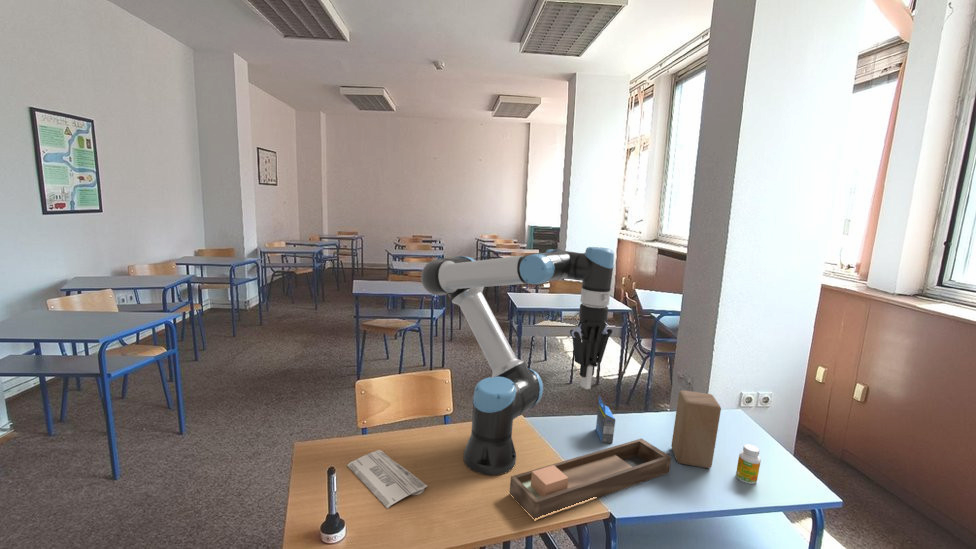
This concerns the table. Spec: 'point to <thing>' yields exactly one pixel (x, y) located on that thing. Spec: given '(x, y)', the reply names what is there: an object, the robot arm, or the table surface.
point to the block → (695, 428)
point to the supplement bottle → (748, 464)
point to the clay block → (548, 481)
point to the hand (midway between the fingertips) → (585, 387)
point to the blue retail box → (605, 423)
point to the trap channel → (594, 476)
